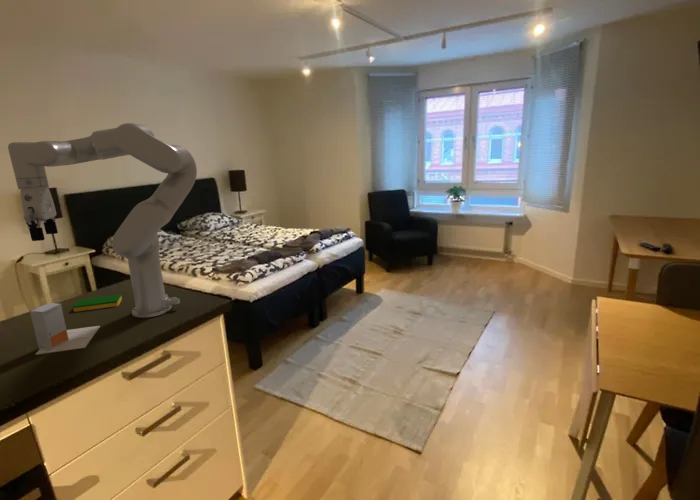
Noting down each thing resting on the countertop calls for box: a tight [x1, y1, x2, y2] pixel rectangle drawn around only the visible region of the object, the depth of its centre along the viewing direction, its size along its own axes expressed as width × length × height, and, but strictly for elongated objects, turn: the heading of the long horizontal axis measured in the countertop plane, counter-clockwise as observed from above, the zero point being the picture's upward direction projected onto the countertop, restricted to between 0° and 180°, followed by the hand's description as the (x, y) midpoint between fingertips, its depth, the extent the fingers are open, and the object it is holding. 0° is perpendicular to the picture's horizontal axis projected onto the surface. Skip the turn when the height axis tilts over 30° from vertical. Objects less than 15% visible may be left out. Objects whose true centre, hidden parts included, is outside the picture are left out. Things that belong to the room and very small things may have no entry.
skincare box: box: [29, 302, 69, 350], centre depth 109 cm, size 6×4×12 cm
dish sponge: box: [72, 294, 123, 313], centre depth 139 cm, size 7×14×2 cm, turn 110°
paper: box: [35, 325, 101, 356], centre depth 114 cm, size 12×14×1 cm
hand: (45, 237), depth 122 cm, fingers open, 9 cm apart
